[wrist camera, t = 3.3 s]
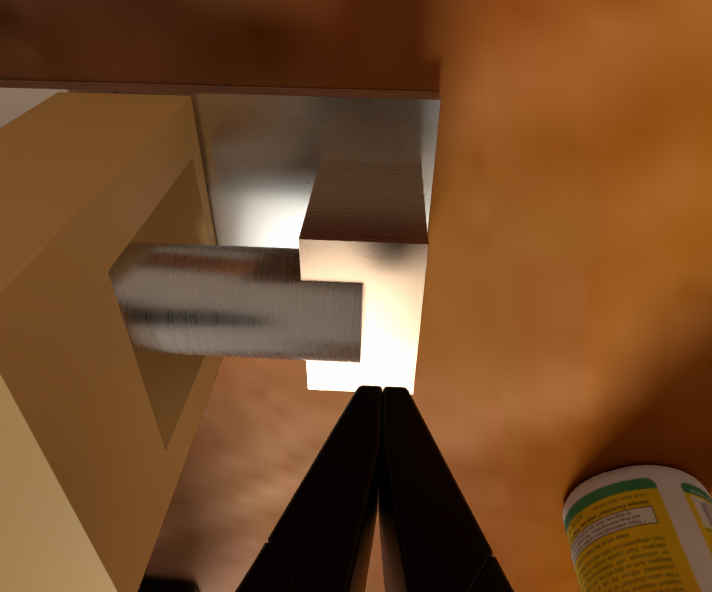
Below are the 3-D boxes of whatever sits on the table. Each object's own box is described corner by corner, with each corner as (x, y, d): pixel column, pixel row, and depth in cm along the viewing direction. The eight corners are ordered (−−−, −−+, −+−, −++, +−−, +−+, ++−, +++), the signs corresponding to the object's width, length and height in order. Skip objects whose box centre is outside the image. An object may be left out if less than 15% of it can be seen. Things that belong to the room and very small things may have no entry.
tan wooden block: (190, 95, 12) (-28, 322, 6) (231, 335, 16) (129, 614, 10) (57, 92, 12) (-294, 309, 6) (132, 330, 16) (-29, 603, 10)
